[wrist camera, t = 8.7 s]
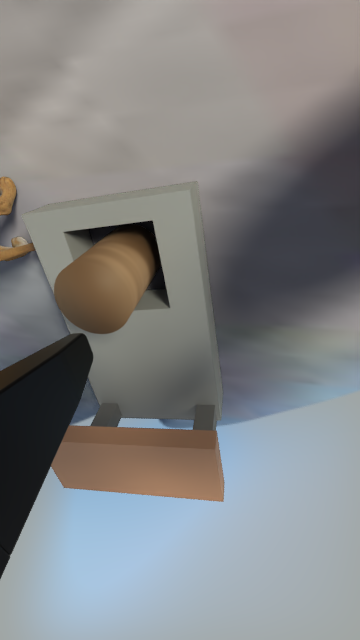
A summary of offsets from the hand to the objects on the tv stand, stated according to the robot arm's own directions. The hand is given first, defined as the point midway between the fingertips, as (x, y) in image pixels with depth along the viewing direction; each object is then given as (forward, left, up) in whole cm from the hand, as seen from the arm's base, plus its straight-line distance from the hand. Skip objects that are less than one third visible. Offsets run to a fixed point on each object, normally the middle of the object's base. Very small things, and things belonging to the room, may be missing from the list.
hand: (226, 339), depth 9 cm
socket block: (+7, +6, -12) cm, 15 cm away
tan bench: (+7, +11, -12) cm, 18 cm away
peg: (+7, +1, -12) cm, 14 cm away
